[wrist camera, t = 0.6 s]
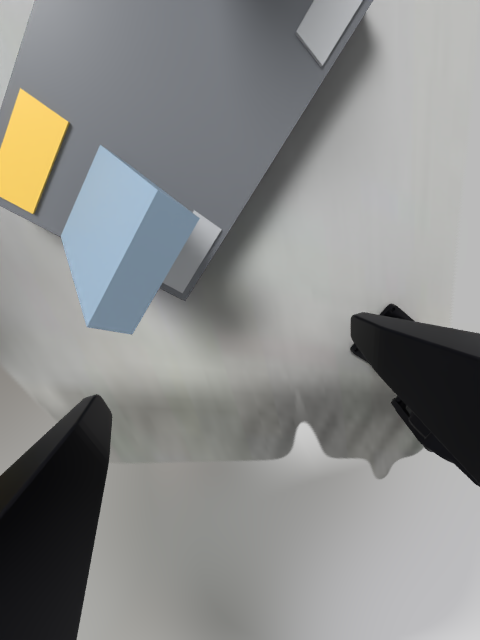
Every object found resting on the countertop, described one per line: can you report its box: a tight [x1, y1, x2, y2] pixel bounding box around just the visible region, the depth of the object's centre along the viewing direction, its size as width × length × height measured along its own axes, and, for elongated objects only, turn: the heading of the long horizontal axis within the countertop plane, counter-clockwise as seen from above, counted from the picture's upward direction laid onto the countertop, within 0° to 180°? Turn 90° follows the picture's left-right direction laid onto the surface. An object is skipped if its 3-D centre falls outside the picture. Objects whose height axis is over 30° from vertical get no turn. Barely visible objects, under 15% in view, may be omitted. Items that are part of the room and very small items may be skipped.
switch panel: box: [0, 0, 373, 301], centre depth 14 cm, size 12×21×3 cm, turn 145°
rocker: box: [61, 145, 200, 334], centre depth 11 cm, size 2×5×9 cm, turn 145°
